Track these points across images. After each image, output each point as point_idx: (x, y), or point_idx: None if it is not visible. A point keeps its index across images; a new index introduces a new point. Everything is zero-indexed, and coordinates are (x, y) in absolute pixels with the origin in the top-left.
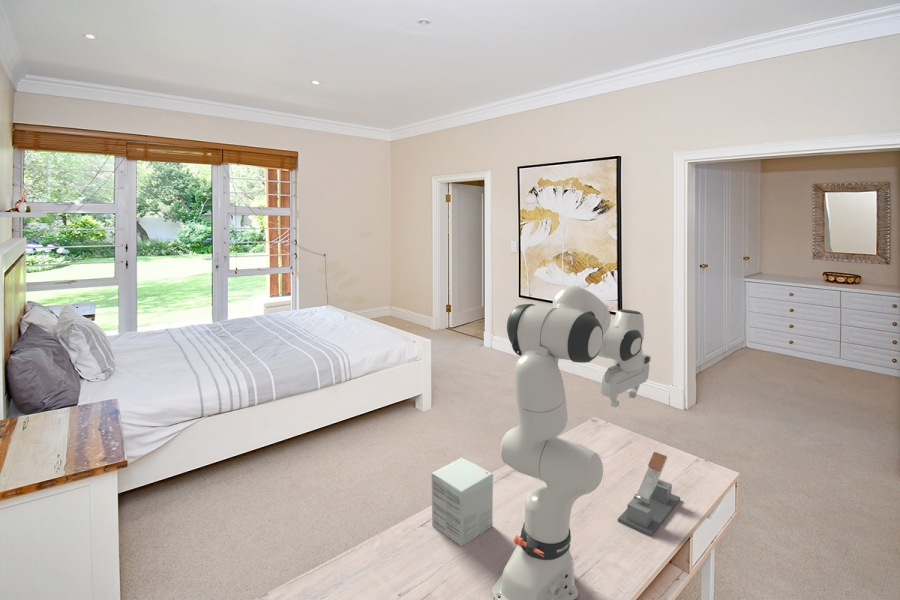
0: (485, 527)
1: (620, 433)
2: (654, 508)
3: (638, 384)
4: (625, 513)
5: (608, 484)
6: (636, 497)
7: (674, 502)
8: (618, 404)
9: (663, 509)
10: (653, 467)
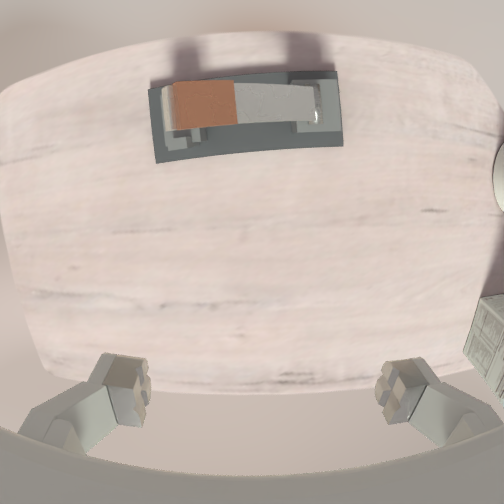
0: (493, 298)
1: (37, 322)
2: None
3: (59, 456)
4: (313, 142)
5: (224, 235)
6: (322, 117)
7: None
8: (399, 366)
9: None
10: (234, 105)
